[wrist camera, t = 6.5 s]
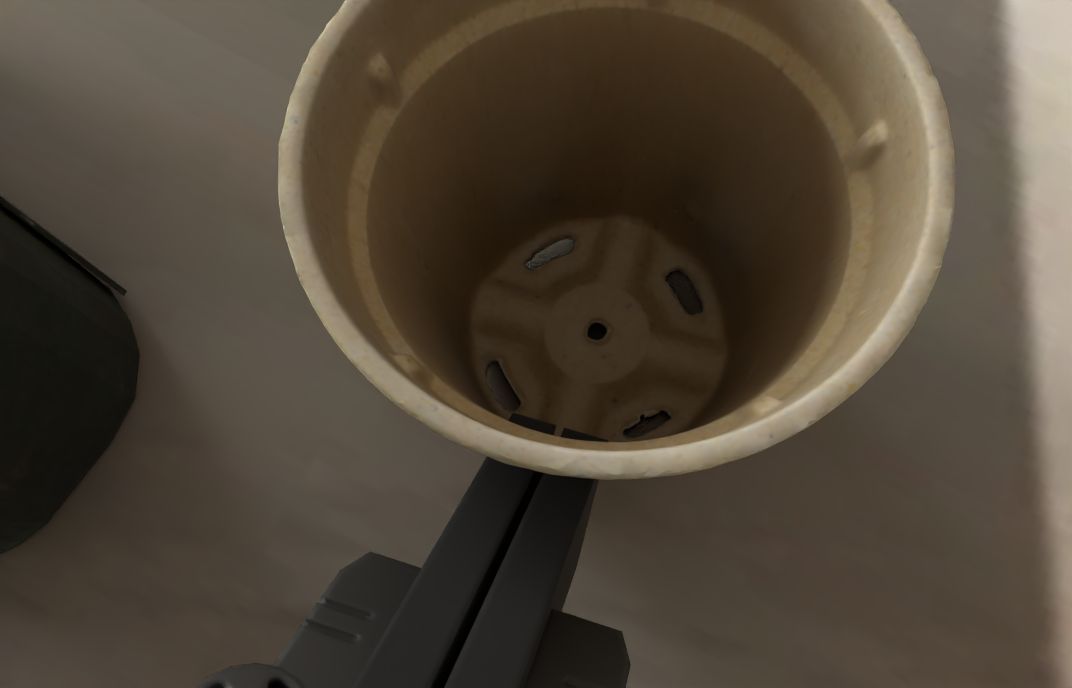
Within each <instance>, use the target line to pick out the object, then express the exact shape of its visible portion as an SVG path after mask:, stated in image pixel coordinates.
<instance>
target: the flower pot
mask: <svg viewBox="0 0 1072 688" xmlns="http://www.w3.org/2000/svg"><path fill="white" fill-rule="evenodd" d="M278 147H279V157H278V162H279V168H278V190H279V206H280V214H281V221H282V224H283V229H284V234H285V238H286V241H287V244H288V247H289V251H290V254H291V256H292V259H293V262H294V265H295V268H296V273H297V275H298V277H299V281H300V283H301V285H302V286H303V288H304V290H305V292H306V294H307V295H308V298H309V300H310V302H311V304H312V306H313V307H314V309H315V311H316V312H317V314H318V316H319V318H320V319H321V321H322V323H323V325H324V326H325V328H326V329H327V331H328V332H329V333H330V335H331V336H332V337H333V339H334V340H335V342H336V343H337V344H338V346H339V347H340V349H341V350H342V351H343V352H344V354H345V355H346V356H347V357H348V358H349V360H350V361H351V362H352V363H353V364H354V366H355V367H356V368H357V369H358V370H359V371H360V372H361V373H362V374H363V375H364V376H365V377H366V378H367V379H368V380H369V381H370V382H371V383H372V384H373V385H374V386H375V387H376V388H377V389H378V390H380V391H381V392H382V393H383V394H384V395H385V396H386V397H387V398H389V399H390V400H391V401H392V402H394V403H395V404H396V405H397V406H399V407H400V408H401V409H403V410H404V411H406V412H407V413H408V414H410V415H411V416H413V417H414V418H416V419H417V420H419V421H420V422H421V423H423V424H424V425H426V426H427V427H429V428H430V429H431V430H433V431H435V432H437V433H438V434H440V435H442V436H444V437H445V438H447V439H449V440H451V441H452V442H454V443H456V444H459V445H461V446H463V447H466V448H468V449H470V450H473V451H475V452H477V453H480V454H482V455H485V456H487V457H489V458H492V459H495V460H497V461H500V462H502V463H505V464H509V465H513V466H517V467H521V468H526V469H530V470H534V471H538V472H543V473H547V474H551V475H560V476H569V477H579V478H591V479H603V480H613V479H643V478H653V477H663V476H673V475H679V474H684V473H689V472H694V471H699V470H704V469H709V468H712V467H715V466H718V465H722V464H725V463H728V462H732V461H735V460H738V459H741V458H744V457H747V456H750V455H752V454H755V453H757V452H760V451H762V450H764V449H767V448H769V447H771V446H773V445H775V444H777V443H779V442H781V441H783V440H786V439H788V438H790V437H791V436H793V435H795V434H797V433H798V432H800V431H802V430H804V429H805V428H807V427H809V426H811V425H812V424H814V423H815V422H817V421H818V420H819V419H821V418H822V417H824V416H825V415H826V414H828V413H829V412H830V411H832V410H833V409H834V408H836V407H837V406H838V405H840V404H841V403H842V402H843V401H845V400H846V399H847V398H848V397H850V396H851V395H852V394H853V393H855V392H856V391H857V390H858V389H859V388H860V387H861V386H862V385H863V384H865V383H866V382H867V381H868V380H869V379H870V378H871V377H872V376H873V375H874V374H875V373H876V372H877V371H878V370H879V369H880V368H881V367H882V365H883V364H884V363H885V362H887V361H888V360H889V359H890V358H891V357H892V355H893V354H894V352H895V351H896V349H897V348H898V347H899V346H900V344H901V343H902V341H903V340H904V338H905V337H906V335H907V334H908V333H909V331H910V330H911V328H912V327H913V325H914V324H915V321H916V318H917V316H918V315H919V313H920V312H921V310H922V306H923V305H924V304H925V303H926V302H927V299H928V296H929V294H930V292H931V290H932V288H933V286H934V284H935V282H936V278H937V276H938V273H939V271H940V269H941V267H942V260H943V255H944V252H945V250H946V247H947V244H948V240H949V236H950V234H951V227H952V222H953V216H954V195H955V174H956V169H955V158H954V148H953V142H952V136H951V130H950V125H949V119H948V113H947V109H946V105H945V102H944V100H943V96H942V92H941V90H940V88H939V85H938V81H937V79H936V78H935V76H934V75H933V74H932V70H931V67H930V63H929V62H928V60H927V59H926V57H925V55H924V53H923V51H922V49H921V46H920V44H919V42H918V40H917V39H916V37H915V36H914V35H913V33H912V32H911V30H910V29H909V27H908V26H907V24H906V23H905V22H904V20H903V19H902V17H901V16H900V15H899V13H898V12H897V10H896V9H894V7H893V6H892V5H891V3H890V2H889V1H888V0H345V2H344V4H343V5H342V7H341V8H340V10H339V11H338V12H337V14H336V15H335V16H334V17H333V18H332V19H331V21H330V22H329V23H328V24H327V26H326V28H325V30H324V31H323V32H322V34H321V35H320V37H319V38H318V39H317V41H316V43H315V44H314V45H313V46H312V47H311V50H310V52H309V55H308V58H307V60H306V61H305V63H304V64H303V66H302V69H301V73H300V75H299V77H298V80H297V82H296V85H295V88H294V90H293V92H292V94H291V96H290V102H289V105H288V108H287V113H286V118H285V123H284V127H283V131H282V134H281V138H280V141H279V145H278ZM568 238H569V239H572V240H573V241H574V245H573V249H572V251H571V252H570V253H569V254H567V255H564V256H562V257H558V258H554V259H552V260H550V261H548V262H547V263H545V264H543V265H542V266H540V267H537V268H535V269H533V270H531V269H529V268H528V267H526V265H525V263H527V262H528V261H530V260H531V259H532V258H533V257H534V255H535V254H536V253H538V252H539V251H541V250H543V249H545V248H546V247H547V246H549V245H551V244H553V243H555V242H557V241H559V240H562V239H568ZM675 270H679V271H681V272H682V273H684V274H686V275H687V276H688V277H689V278H690V280H691V282H692V285H693V287H694V290H695V292H696V296H697V298H698V299H699V300H700V301H701V307H702V312H699V313H695V314H693V315H690V314H688V313H687V312H686V311H685V309H684V308H683V306H682V304H681V303H680V301H679V300H678V298H677V296H676V294H675V292H674V290H673V289H672V288H671V286H670V285H669V282H666V281H665V278H666V276H667V275H668V274H669V273H670V272H672V271H675ZM594 323H600V324H602V325H604V326H605V327H606V329H607V332H606V334H605V336H604V337H603V338H602V339H601V340H594V339H591V338H590V337H588V329H589V327H590V326H591V325H592V324H594ZM492 362H499V364H500V367H501V368H502V370H503V373H504V375H505V377H506V378H507V380H508V382H509V384H510V386H511V387H512V389H513V391H514V392H515V394H516V396H517V397H518V398H519V400H520V402H521V404H520V406H519V408H518V409H516V410H515V411H508V410H506V409H505V408H504V407H503V406H502V405H501V404H500V403H499V402H498V401H497V400H496V398H495V397H494V394H493V391H492V389H491V388H490V387H489V385H488V382H487V368H488V366H489V364H490V363H492ZM660 411H664V412H666V413H667V414H668V415H669V417H670V419H669V420H668V421H666V422H664V423H663V424H661V425H660V426H658V427H656V428H654V429H653V430H650V431H648V432H647V433H645V434H643V435H641V436H638V437H628V436H625V435H624V434H623V431H624V430H625V429H628V428H631V427H632V426H633V425H635V424H637V423H638V422H639V421H640V416H641V415H642V414H644V418H645V417H651V416H653V415H656V414H658V413H659V412H660ZM512 413H516V414H520V415H523V416H527V417H530V418H534V419H537V420H540V421H544V422H547V423H551V424H554V425H556V428H555V433H554V435H550V434H545V433H542V432H538V431H535V430H531V429H528V428H525V427H522V426H520V425H517V424H515V423H512V422H510V421H508V420H509V418H510V417H511V415H512ZM564 428H568V429H571V430H575V431H578V432H581V433H585V434H588V435H592V436H595V437H598V438H602V439H605V440H608V442H599V441H584V440H575V439H568V438H563V437H560V436H561V434H562V432H563V429H564Z"/></svg>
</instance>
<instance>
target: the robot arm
mask: <svg viewBox="0 0 1072 688" xmlns="http://www.w3.org/2000/svg"><path fill="white" fill-rule="evenodd" d="M508 421H510V422H512V423H515V424H517V425H520V426H522V427H525V428H528V429H531V430H535V431H538V432H542V433H545V434H550V435H554V433H555V428H556V425H554V424H551V423H547V422H544V421H540V420H537V419H534V418H530V417H527V416H523V415H520V414H516V413H512V415H511V417H510V418H509V420H508ZM560 437H563V438H568V439H575V440H584V441H599V442H608V440H605V439H602V438H598V437H595V436H592V435H588V434H585V433H581V432H578V431H575V430H571V429H568V428H564V429H563V432H562V434H561V436H560ZM598 480H599V479H591V478H579V477H569V476H560V475H551V474H547V473H543V472H538V471H534V470H530V469H526V468H521V467H517V466H513V465H509V464H505V463H502V462H500V461H497V460H495V459H492V458H489V457H487V458H486V459H485V461H484V463H483V464H482V466H481V468H480V469H479V471H478V473H477V475H476V476H475V478H474V480H473V481H472V483H471V485H470V487H469V488H468V490H467V492H466V493H465V495H464V497H463V499H462V500H461V502H460V504H459V505H458V507H457V509H456V511H455V512H454V514H453V516H452V517H451V519H450V521H449V522H448V524H447V526H446V528H445V529H444V531H443V533H442V534H441V536H440V538H439V540H438V541H437V543H436V545H435V546H434V548H433V550H432V552H431V553H430V555H429V557H428V558H427V560H426V562H425V564H424V565H423V567H422V568H419V567H416V566H413V565H410V564H407V563H404V562H401V561H398V560H395V559H391V558H388V557H385V556H382V555H379V554H376V553H373V552H369V553H367V554H365V555H364V556H362V557H361V558H359V559H358V560H356V561H354V562H353V563H351V564H350V565H348V566H346V567H345V568H343V569H342V570H340V571H339V573H338V574H337V576H336V577H335V578H334V580H333V581H332V583H331V584H330V585H329V587H328V588H327V590H326V591H325V592H324V594H323V595H322V597H321V600H320V602H319V603H318V602H317V604H316V605H315V607H314V608H313V609H312V611H311V612H310V614H309V615H308V616H307V618H306V620H305V623H304V625H301V626H300V628H299V629H298V630H297V632H296V633H295V635H294V636H293V637H292V639H291V640H290V642H289V643H288V644H287V646H286V647H285V649H284V650H283V651H282V653H281V654H280V656H279V657H278V658H277V660H276V661H275V663H274V664H273V666H271V665H265V664H259V663H252V664H245V665H237V666H230V667H228V668H226V669H224V670H221V671H219V672H217V673H215V674H213V675H210V676H208V677H206V678H205V679H204V680H203V681H202V682H201V683H200V684H198V685H197V686H196V687H195V688H626V683H627V679H628V674H629V670H630V665H631V664H630V660H629V656H628V652H627V649H626V645H625V641H624V637H623V634H622V631H619V630H616V629H613V628H610V627H607V626H604V625H601V624H597V623H594V622H591V621H588V620H585V619H582V618H579V617H576V616H573V615H570V614H567V613H564V612H561V611H562V608H563V605H564V602H565V599H566V596H567V593H568V591H569V588H570V585H571V582H572V579H573V576H574V573H575V570H576V567H577V563H578V559H579V555H580V551H581V547H582V543H583V540H584V536H585V532H586V528H587V524H588V520H589V516H590V512H591V508H592V504H593V500H594V496H595V492H596V488H597V484H598Z"/></svg>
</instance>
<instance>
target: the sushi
mask: <svg viewBox="0 0 1072 688" xmlns="http://www.w3.org/2000/svg"><path fill="white" fill-rule="evenodd" d="M71 257H72V258H73V259H72V258H71ZM75 260H76V261H77V262H78V263H77V262H76V261H75ZM79 263H80V264H81V265H82V266H84V267H85V268H86V269H88V270H89V271H91V272H92V273H93V274H95V275H96V276H97V277H99V278H100V279H101V280H103V281H104V282H105V283H107V284H108V285H110V286H111V287H112V288H114V289H115V290H116V291H118V292H119V293H120V294H122V295H123V296H124V295H125V293H126V292H127V291H126V290H125V289H124V288H122V287H121V286H120V285H119V284H117V283H116V282H115V281H113V280H112V279H111V278H109V277H108V276H107V275H105V274H104V273H103V272H102V271H100V270H99V269H98V268H96V267H95V266H94V265H92V264H91V263H90V262H88V261H87V260H86V259H85V258H83V257H82V256H81V255H79V254H78V253H77V252H75V251H74V250H73V249H71V248H70V247H69V246H68V245H66V244H65V243H64V242H62V241H61V240H60V239H58V238H57V237H56V236H54V235H53V234H52V233H51V232H49V231H48V230H47V229H45V228H44V227H43V226H41V225H40V224H39V223H37V222H36V221H35V220H34V219H32V218H31V217H30V216H28V215H27V214H26V213H24V212H23V211H22V210H20V209H19V208H18V207H17V206H15V205H14V204H13V203H11V202H10V201H9V200H7V199H6V198H5V197H3V196H2V195H1V194H0V553H3V552H5V551H7V550H9V549H11V548H13V547H15V546H17V545H19V544H20V543H22V542H23V541H24V540H25V539H27V538H28V537H29V536H30V535H32V534H33V533H34V532H35V531H37V530H38V529H39V528H40V527H42V526H43V525H44V524H45V523H47V522H48V520H49V519H50V518H51V517H52V515H53V514H54V513H55V512H56V510H57V509H58V508H59V506H60V505H61V504H62V503H63V501H64V500H65V499H66V498H67V496H68V495H69V494H70V493H71V491H72V490H73V489H74V488H75V486H76V485H77V484H78V483H79V481H80V480H81V479H82V478H83V476H84V475H85V474H86V473H87V471H88V470H89V469H90V468H91V466H92V465H93V464H94V463H95V461H96V460H97V459H98V457H99V456H100V455H101V454H102V452H103V451H104V450H105V449H106V447H107V446H108V445H109V444H110V442H111V440H112V438H113V436H114V435H115V433H116V431H117V429H118V427H119V425H120V424H121V422H122V420H123V418H124V416H125V414H126V413H127V411H128V409H129V407H130V405H131V403H132V402H133V400H134V396H135V387H136V378H137V370H138V361H139V351H138V347H137V344H136V340H135V336H134V333H133V329H132V325H131V322H130V321H129V319H128V317H127V316H126V314H125V313H124V311H123V309H122V308H121V306H120V304H119V303H118V301H117V300H116V298H115V296H114V295H113V293H112V292H111V290H110V289H109V288H108V287H107V286H105V285H104V284H103V283H102V282H100V281H99V280H98V279H97V278H96V277H94V276H93V275H92V274H91V273H90V272H88V271H87V270H86V269H85V268H83V267H82V266H81V265H80V264H79Z"/></svg>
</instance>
